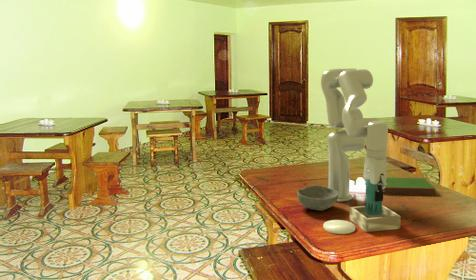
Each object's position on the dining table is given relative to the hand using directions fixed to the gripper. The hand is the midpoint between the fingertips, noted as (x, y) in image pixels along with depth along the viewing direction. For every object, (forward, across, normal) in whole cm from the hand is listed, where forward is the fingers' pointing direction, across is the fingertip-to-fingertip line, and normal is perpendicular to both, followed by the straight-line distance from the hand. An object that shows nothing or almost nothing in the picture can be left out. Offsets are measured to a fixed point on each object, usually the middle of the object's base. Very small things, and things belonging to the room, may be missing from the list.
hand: (374, 197), depth 166 cm
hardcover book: (+12, -38, +37) cm, 54 cm away
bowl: (+11, -21, -15) cm, 28 cm away
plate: (+10, +2, -15) cm, 18 cm away
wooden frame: (+10, +1, 0) cm, 10 cm away
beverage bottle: (+8, 0, 0) cm, 8 cm away
